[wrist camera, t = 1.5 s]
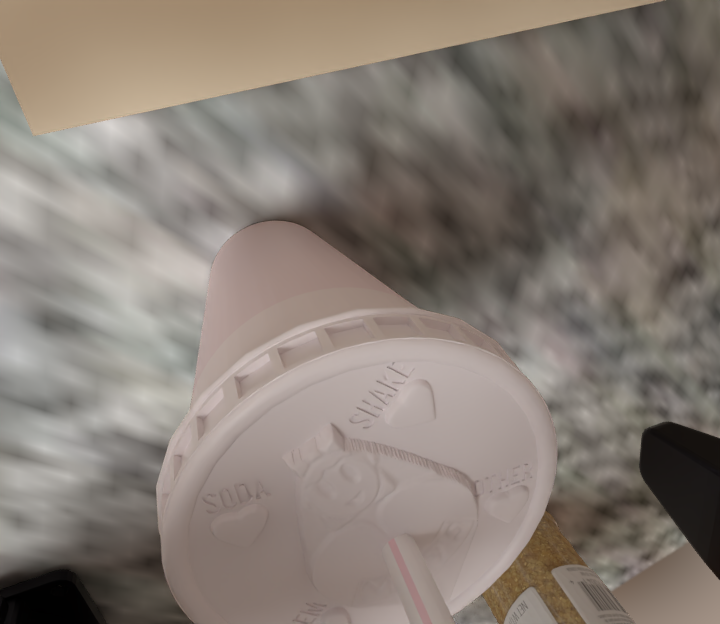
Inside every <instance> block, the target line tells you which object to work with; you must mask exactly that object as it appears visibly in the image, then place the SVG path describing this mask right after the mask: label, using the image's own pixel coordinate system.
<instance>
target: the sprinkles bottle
mask: <svg viewBox="0 0 720 624" xmlns="http://www.w3.org/2000/svg"><path fill="white" fill-rule="evenodd" d="M482 595H483V597H484V599H485V600H486V602H487V604H488V606H489V607H490V608H491V611H492V613H493V615H494V616H495V618H496V619H497V621H498V623H499V624H636V623H635V622H634V621H633V620H632V618H631V617H630V616H629V615H628V613H627V612H626V611H625V609H624V608H623V607H622V606H621V605H620V603H619V602H618V600H617V599H616V598H615V597H614V595H613V594H612V593H611V592H610V590H609V589H608V588H607V586H606V585H605V584H604V583H603V581H602V580H601V579H600V578H599V576H598V575H597V574H596V573H595V572H594V571H593V570H592V569H590V568H589V567H588V566H587V565H586V564H585V562H584V561H583V560H582V559H581V557H580V556H579V555H578V554H577V553H576V551H575V550H574V549H573V547H572V546H571V544H570V543H569V542H568V540H567V539H566V538H565V537H564V536H563V535H562V534H561V532H560V529H559V527H558V524H557V522H556V521H555V519H554V518H553V516H552V515H551V514H550V513H548V512H547V511H546V510H545V512H544V515H543V517H542V519H541V520H540V522H539V524H538V526H537V528H536V530H535V531H534V533H533V535H532V537H531V539H530V541H529V542H528V543H527V545H526V546H525V547H524V549H523V550H522V551H521V553H520V554H519V555H518V557H517V558H516V559H515V561H514V562H513V563H512V565H511V566H510V567H509V568H508V569H507V570H506V571H505V572H504V573H503V574H502V575H501V576H500V577H499V578H498V579H497V580H496V581H495V582H494V583H493V584H492V585H491V586H490V587H489V588H488V589H487V590H486V591H485V592H484V593H482Z"/></svg>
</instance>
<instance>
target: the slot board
mask: <svg viewBox="0 0 720 624" xmlns="http://www.w3.org/2000/svg"><path fill="white" fill-rule="evenodd" d="M660 1H665V0H0V59H1V61H2V64H3V66H4V68H5V71H6V73H7V75H8V78H9V80H10V82H11V85H12V87H13V89H14V92H15V94H16V96H17V99H18V101H19V103H20V106H21V108H22V110H23V113H24V115H25V117H26V120H27V122H28V124H29V127H30V129H31V131H32V134H33V136H36V135H40V134H45V133H50V132H54V131H59V130H64V129H68V128H73V127H78V126H82V125H87V124H92V123H96V122H101V121H105V120H110V119H115V118H119V117H124V116H129V115H133V114H138V113H143V112H147V111H152V110H157V109H161V108H166V107H171V106H175V105H180V104H185V103H189V102H194V101H199V100H203V99H208V98H213V97H217V96H222V95H227V94H231V93H236V92H241V91H245V90H250V89H255V88H259V87H264V86H269V85H273V84H278V83H283V82H287V81H292V80H297V79H301V78H306V77H311V76H315V75H320V74H325V73H329V72H334V71H339V70H343V69H348V68H352V67H357V66H362V65H366V64H371V63H376V62H380V61H385V60H390V59H394V58H399V57H404V56H408V55H413V54H418V53H422V52H427V51H432V50H436V49H441V48H446V47H450V46H455V45H460V44H464V43H469V42H474V41H478V40H483V39H488V38H492V37H497V36H502V35H506V34H511V33H516V32H520V31H525V30H530V29H534V28H539V27H544V26H548V25H553V24H558V23H562V22H567V21H572V20H576V19H581V18H586V17H590V16H595V15H599V14H604V13H609V12H613V11H618V10H623V9H627V8H632V7H637V6H641V5H646V4H651V3H655V2H660Z"/></svg>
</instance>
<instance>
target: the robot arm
mask: <svg viewBox="0 0 720 624" xmlns="http://www.w3.org/2000/svg"><path fill="white" fill-rule="evenodd" d="M639 468H640V473H641V475H642V478H643V479H644V481H645V483H646V484H647V485H648V487H649V488H650V490H651V491H652V492H653V494H654V495H655V496H656V498H657V499H658V500H659V502H660V503H661V504H662V506H663V507H664V509H665V510H666V511H667V513H668V514H669V515H670V517H671V518H672V519H673V521H674V522H675V523H676V525H677V526H678V528H679V529H680V530H681V532H682V533H683V534H684V536H685V537H686V538H687V540H688V541H689V542H690V544H691V545H692V547H693V548H694V549H695V551H696V552H697V553H698V554H699V556H700V557H701V558H702V559H703V561H704V562H705V563H706V565H707V566H708V567H709V568H710V569H711V570H712V572H713V573H714V574H715V575H716V576H717V577H718V579H719V580H720V438H718V437H715V436H712V435H709V434H706V433H703V432H700V431H697V430H694V429H691V428H688V427H685V426H682V425H679V424H676V423H673V422H662V423H659V424H657V425H654V426H651V427H649V428H647V429H645V430H644V432H643V433H642V438H641V450H640V461H639ZM58 585H63V586H61V587H60V586H58ZM0 624H107V623H106V622H105V620H104V618H103V617H102V615H101V613H100V612H99V610H98V609H97V607H96V605H95V604H94V602H93V600H92V599H91V597H90V596H89V594H88V592H87V591H86V589H85V587H84V586H83V584H82V583H81V581H80V579H79V578H78V576H77V575H76V574H75V573H74V572H72V571H70V570H58V571H54V572H51V573H48V574H45V575H42V576H39V577H36V578H33V579H31V580H28V581H25V582H22V583H19V584H16V585H13V586H10V587H7V588H5V589H2V590H0Z"/></svg>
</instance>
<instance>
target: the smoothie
mask: <svg viewBox="0 0 720 624" xmlns="http://www.w3.org/2000/svg"><path fill="white" fill-rule="evenodd" d="M557 457H558V453H557V438H556V432H555V427H554V423H553V420H552V417H551V414H550V411H549V409H548V407H547V405H546V403H545V401H544V399H543V398H542V396H541V394H540V393H539V391H538V390H537V388H536V387H535V386H534V385H533V384H532V383H531V381H530V380H529V379H528V378H527V377H526V376H525V375H524V374H523V373H522V372H521V371H520V370H519V368H518V367H517V366H516V365H515V363H514V362H513V361H512V360H511V359H510V357H509V356H508V355H507V354H506V352H505V351H504V350H503V349H502V347H501V346H500V345H499V344H498V342H497V341H495V340H494V339H492V338H490V337H489V336H487V335H485V334H484V333H482V332H481V331H479V330H477V329H476V328H474V327H472V326H471V325H469V324H467V323H466V322H464V321H463V320H461V319H459V318H455V317H451V316H447V315H443V314H439V313H435V312H431V311H427V310H423V309H419V308H417V307H416V306H415V305H413V304H411V303H410V302H408V301H407V300H406V299H404V298H403V297H401V296H400V295H399V294H397V293H396V292H394V291H393V290H392V289H390V288H389V287H388V286H386V285H385V284H383V283H382V282H381V281H379V280H378V279H377V278H375V277H374V276H372V275H371V274H370V273H368V272H367V271H366V270H364V269H363V268H361V267H360V266H359V265H357V264H356V263H354V262H353V261H352V260H350V259H349V258H348V257H346V256H345V255H343V254H342V253H341V252H339V251H338V250H337V249H335V248H334V247H332V246H331V245H330V244H328V243H327V242H326V241H324V240H323V239H321V238H320V237H319V236H317V235H316V234H314V233H313V232H312V231H310V230H309V229H307V228H305V227H303V226H301V225H298V224H295V223H292V222H287V221H265V222H260V223H256V224H253V225H251V226H248V227H246V228H244V229H242V230H240V231H239V232H237V233H236V234H235V235H233V236H232V237H231V238H230V239H229V240H228V241H227V242H226V243H225V244H224V245H223V246H222V248H221V249H220V250H219V252H218V254H217V255H216V257H215V260H214V262H213V265H212V268H211V273H210V279H209V286H208V292H207V299H206V306H205V313H204V319H203V326H202V333H201V340H200V347H199V353H198V360H197V367H196V374H195V380H194V387H193V394H192V399H191V404H190V409H189V412H188V413H187V415H186V416H185V418H184V419H183V421H182V422H181V424H180V425H179V427H178V428H177V430H176V431H175V433H174V434H173V436H172V437H171V439H170V442H169V445H168V448H167V452H166V455H165V458H164V462H163V465H162V468H161V472H160V475H159V478H158V482H157V485H156V495H157V515H158V531H159V533H160V536H161V557H162V565H163V570H164V574H165V578H166V581H167V583H168V586H169V589H170V591H171V593H172V595H173V597H174V598H175V600H176V602H177V604H178V605H179V607H180V608H181V609H182V611H183V612H184V613H185V614H186V616H187V617H188V618H189V619H190V620H191V621H192V622H193V623H194V624H455V622H454V620H453V618H452V616H453V615H454V614H456V613H457V612H459V611H461V610H462V609H463V608H465V607H466V606H467V605H468V604H470V603H471V602H472V601H473V600H475V599H476V598H477V597H479V596H480V595H481V594H482V593H484V592H485V591H486V590H487V589H488V588H489V587H490V586H491V585H492V584H493V583H494V582H495V581H496V580H497V579H498V578H499V577H500V576H501V575H502V574H503V573H504V572H505V571H506V570H507V569H508V568H509V567H510V566H511V565H512V563H513V562H514V561H515V559H516V558H517V557H518V555H519V554H520V553H521V551H522V550H523V549H524V547H525V546H526V545H527V543H528V542H529V541H530V539H531V537H532V535H533V533H534V531H535V530H536V528H537V526H538V524H539V522H540V520H541V519H542V517H543V515H544V512H545V509H546V507H547V504H548V501H549V499H550V496H551V492H552V489H553V486H554V480H555V475H556V470H557Z"/></svg>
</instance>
